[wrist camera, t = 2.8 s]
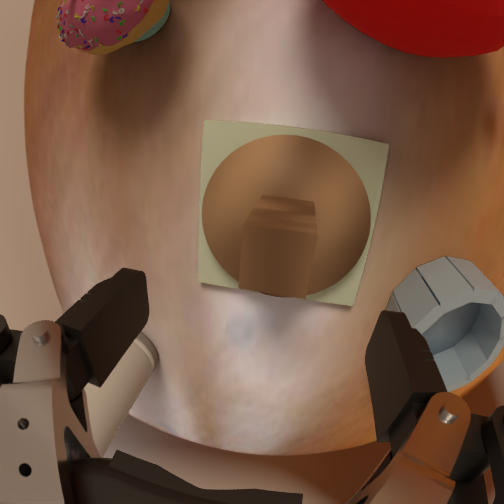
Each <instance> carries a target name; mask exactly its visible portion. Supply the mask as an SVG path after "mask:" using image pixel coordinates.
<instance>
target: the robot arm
mask: <svg viewBox="0 0 504 504" xmlns="http://www.w3.org/2000/svg"><path fill="white" fill-rule="evenodd" d="M148 317H149V303H148V293H147V283H146V276H145V273H144V272H143V271H138V270H133V269H128V268H122V269H121V270H119V271H118V272H117V273H116V274H115V275H114V276H113V277H111V278H109V279H107V280H104V281H102V282H100V283H98V284H96V285H95V286H94V287H93V288H92V289H90V290H89V291H88V294H85V295H84V296H83V297H81V300H78V301H77V302H76V303H75V304H74V305H73V306H72V307H70V308H69V309H68V310H67V311H66V312H65V313H64V314H63V315H62V316H61V317H60V318H59V319H58V320H57V321H55V322H53V321H49V320H42V321H38V322H35V323H32V324H31V325H29V326H28V327H26V328H25V329H24V331H18V330H11V329H9V327H8V324H7V322H6V319H5V318H4V316H2V315H0V504H302V498H303V494H298V493H286V492H275V491H267V490H260V489H237V490H207V489H201V488H198V487H196V486H194V485H192V484H190V483H188V482H186V481H184V480H183V479H181V478H179V477H177V476H175V475H173V474H172V473H170V472H168V471H167V470H165V469H163V468H162V467H160V466H158V465H156V464H153V463H150V462H147V461H144V460H142V459H139V458H136V457H134V456H131V455H129V454H126V453H124V452H121V451H119V450H117V451H116V452H115V454H114V456H113V458H112V459H111V458H100V455H99V452H98V450H97V448H96V446H95V443H94V440H93V436H92V430H91V425H90V418H89V412H88V405H87V397H86V392H85V389H84V387H85V386H86V385H87V383H90V384H92V385H95V386H97V387H99V388H101V386H102V385H103V384H104V382H105V381H106V379H107V378H108V376H109V375H110V374H111V372H112V371H113V369H114V368H115V367H116V365H117V364H118V362H119V361H120V360H121V358H122V357H123V355H124V354H125V353H126V351H127V350H128V348H129V347H130V346H131V344H132V343H133V342H134V340H135V339H136V337H137V336H138V335H139V333H140V332H141V331H142V329H143V328H144V327H145V325H146V323H147V321H148ZM365 365H366V370H367V376H368V382H369V388H370V394H371V400H372V407H373V414H374V421H375V429H376V437H377V442H390V445H391V449H390V450H389V451H388V452H387V454H386V455H385V456H384V458H383V459H382V461H381V462H380V464H379V465H378V466H377V468H376V469H375V470H374V472H373V473H372V474H371V476H370V477H369V478H368V479H367V481H366V482H365V483H364V484H363V486H362V487H361V488H360V489H359V490H358V492H357V493H356V494H355V495H354V496H353V497H352V498H351V499H350V500H349V501H348V502H347V503H346V504H488V500H487V493H486V486H485V481H484V476H483V473H484V472H485V471H487V470H488V469H489V468H490V467H491V472H492V476H493V482H494V487H495V499H494V502H493V504H504V406H500V407H498V408H497V409H496V410H495V411H494V412H493V413H492V415H491V416H490V417H485V416H481V415H476V414H471V413H470V410H469V408H468V405H467V404H466V403H465V402H464V400H462V399H461V398H460V397H459V396H457V395H455V394H453V393H449V392H447V389H446V386H445V384H444V381H443V379H442V376H441V374H440V371H439V369H438V366H437V364H436V362H435V361H434V357H433V355H432V352H430V348H429V346H428V343H427V341H426V339H425V338H424V337H423V336H422V334H421V333H420V332H419V331H418V330H417V329H416V328H412V327H411V325H410V323H409V320H408V318H407V316H406V314H405V313H404V312H396V311H387V310H383V311H382V312H381V313H380V315H379V318H378V321H377V323H376V326H375V328H374V331H373V334H372V336H371V339H370V341H369V343H368V346H367V349H366V355H365Z"/></svg>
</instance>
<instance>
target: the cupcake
mask: <svg viewBox="0 0 504 504" xmlns="http://www.w3.org/2000/svg"><path fill="white" fill-rule="evenodd" d="M170 8H171V5H170V0H63V1H62V2H61V6H60V7H59V8H58V11H59V14H58V15H56V18H57V19H58V18H59V21H58V22H57V25H58V29H59V30H60V31H59V30H58V31H59V32H60V33H61V34H60V36H61V37H60V36H59V38H60V39H63V40H62V41H63V42H65V46H68V47H69V48H71V47H73V48H76V49H78V50H80V51H82V52H85V53H90V54H96V55H104V54H108V53H110V52H113V51H115V50H117V49H119V48H121V47H123V46H125V45H128V44H131V43H133V42H138V41H142V40H145V39H147V38H149V37H151V36H152V35H154V34H155V33H156V32H158V31H159V30H160V29H161V28H162V26H163V25H164V24H165V22H166V21H167V19H168V16H169V14H170Z"/></svg>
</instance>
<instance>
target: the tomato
mask: <svg viewBox="0 0 504 504" xmlns="http://www.w3.org/2000/svg"><path fill="white" fill-rule="evenodd" d="M323 1H324V2H325V4H326V5H327V6H328V7H329V8H331V9H332V10H333V11H334V12H335V13H336V14H338V15H339V16H340V17H341V18H342V19H343V20H344V21H346V22H347V23H349V24H350V25H352V26H353V27H355V28H356V29H358V30H359V31H361V32H362V33H364V34H366V35H367V36H369V37H371V38H373V39H375V40H377V41H379V42H380V43H382V44H384V45H387V46H389V47H392V48H395V49H397V50H400V51H402V52H405V53H410V54H415V55H420V56H425V57H443V58H445V57H461V56H474V55H480V54H485V53H489V52H493V51H497V50H499V49H500V48H502V47H503V46H504V0H323Z"/></svg>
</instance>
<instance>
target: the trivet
mask: <svg viewBox="0 0 504 504" xmlns="http://www.w3.org/2000/svg"><path fill="white" fill-rule="evenodd" d="M272 135H298V136H303V137H307V138H310V139H313V140H316V141H319V142H321V143H323V144H325V145H327V146H329V147H330V148H332V149H333V150H335V151H336V152H337V153H339V154H340V155H341V156H342V157H343V158H344V159H346V160H347V161H348V162H349V163H350V165H351V166H352V167H353V168H354V170H355V171H356V172H357V174H358V176H359V177H360V179H361V181H362V182H363V185H364V187H365V190H366V192H367V195H368V199H369V203H370V211H371V226H370V233H369V237H368V241H367V244H366V247H365V249H364V251H363V253H362V255H361V257H360V259H359V260H358V262H357V263H356V265H355V266H354V267H353V268H352V269H351V271H350V272H349V273H348V274H347V275H346V276H344V277H343V278H342V279H341V280H340V281H338V282H337V283H335V284H334V285H332V286H330V287H329V288H327V289H325V290H322V291H320V292H317V293H314V294H311V295H307V296H306V298H305V300H312V301H319V302H326V303H333V304H341V305H348V306H353V305H354V301H355V298H356V295H357V291H358V288H359V284H360V281H361V277H362V274H363V270H364V266H365V262H366V259H367V255H368V251H369V247H370V242H371V238H372V234H373V230H374V225H375V221H376V216H377V211H378V207H379V202H380V197H381V191H382V186H383V180H384V175H385V169H386V163H387V156H388V149H389V144H386V143H382V142H377V141H373V140H368V139H363V138H358V137H353V136H348V135H342V134H337V133H331V132H325V131H318V130H311V129H304V128H297V127H289V126H280V125H270V124H260V123H247V122H232V121H212V120H204V128H203V143H202V160H201V181H200V207H199V253H198V282H201V283H207V284H212V285H218V286H224V287H230V288H235V289H240V288H238V287H239V282H238V281H236V280H235V279H234V278H233V277H231V276H230V275H229V274H228V273H227V272H226V271H225V270H224V269H223V268H222V267H221V265H220V264H219V263H218V262H217V260H216V259H215V257H214V255H213V254H212V252H211V250H210V248H209V246H208V244H207V241H206V238H205V235H204V231H203V225H202V203H203V198H204V194H205V190H206V187H207V185H208V182H209V180H210V178H211V177H212V175H213V173H214V171H215V170H216V169H217V167H218V166H219V165H220V163H221V162H222V161H223V160H224V159H225V158H226V157H227V156H228V155H229V154H231V153H232V152H233V151H235V150H236V149H238V148H239V147H241V146H243V145H245V144H246V143H248V142H251V141H253V140H256V139H259V138H263V137H267V136H272ZM241 290H246V289H241ZM247 291H252V290H247ZM253 292H257V291H253ZM292 298H296V297H292ZM298 299H303V298H298Z"/></svg>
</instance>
